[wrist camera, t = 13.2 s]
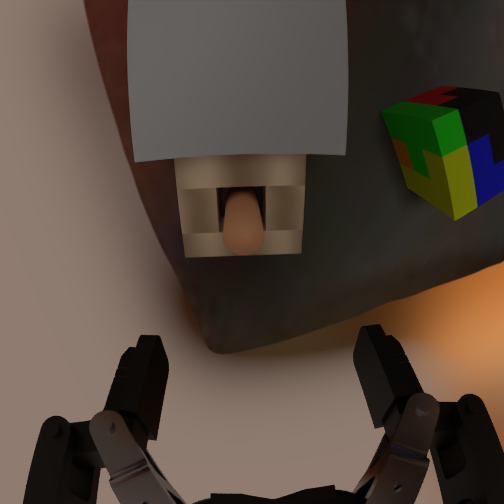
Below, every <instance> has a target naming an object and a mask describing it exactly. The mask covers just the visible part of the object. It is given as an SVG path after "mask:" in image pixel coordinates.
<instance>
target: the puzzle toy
mask: <svg viewBox="0 0 504 504" xmlns="http://www.w3.org/2000/svg"><path fill="white" fill-rule="evenodd" d="M381 114H382V116H383V119H384V121H385V124H386V126H387V129H388V132H389V134H390V137H391V140H392V142H393V145H394V148H395V151H396V154H397V157H398V160H399V163H400V166H401V169H402V172H403V175H404V179H405V182H406V185H407V188H408V189H410V190H411V191H413V192H415V193H416V194H418V195H419V196H420V197H422V198H423V199H425V200H426V201H428V202H429V203H431V204H432V205H434V206H435V207H436V208H438V209H439V210H441V211H442V212H443V213H445V214H446V215H448V216H449V217H450V218H452V219H453V220H454V221H456V220H457V219H459V218H461V217H462V216H464V215H466V214H467V213H469V212H470V211H472V210H474V209H475V208H477V207H478V206H480V205H482V204H483V203H485V202H486V201H488V200H489V199H491V198H492V197H494V196H496V195H497V194H499V193H500V192H502V191H503V190H504V110H503V106H502V102H501V98H500V94H499V92H493V91H486V90H478V89H470V88H460V87H448V86H441V87H439V88H436V89H433V90H431V91H428V92H425V93H423V94H420V95H418V96H415V97H413V98H410V99H408V100H405V101H403V102H400V103H398V104H395V105H393V106H391V107H388V108H386V109H383V110H381Z"/></svg>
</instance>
